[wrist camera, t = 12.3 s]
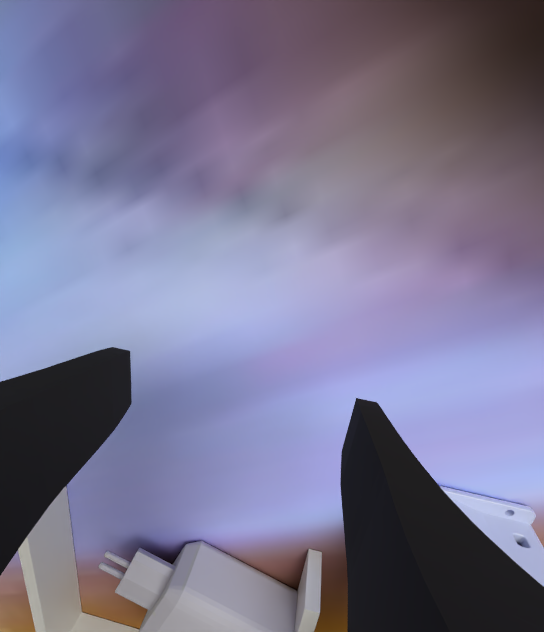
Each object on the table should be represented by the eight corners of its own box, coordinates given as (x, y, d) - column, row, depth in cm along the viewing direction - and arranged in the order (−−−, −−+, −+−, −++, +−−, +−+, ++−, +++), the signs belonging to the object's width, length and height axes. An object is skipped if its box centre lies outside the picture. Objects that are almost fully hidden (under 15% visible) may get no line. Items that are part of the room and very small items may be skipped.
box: (321, 552, 26) (319, 613, 22) (284, 679, 33) (278, 741, 29) (55, 482, 28) (13, 527, 25) (73, 615, 35) (43, 665, 32)
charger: (136, 498, 28) (299, 584, 28) (106, 558, 31) (250, 633, 32) (99, 556, 23) (292, 657, 24) (68, 618, 27) (237, 705, 27)
